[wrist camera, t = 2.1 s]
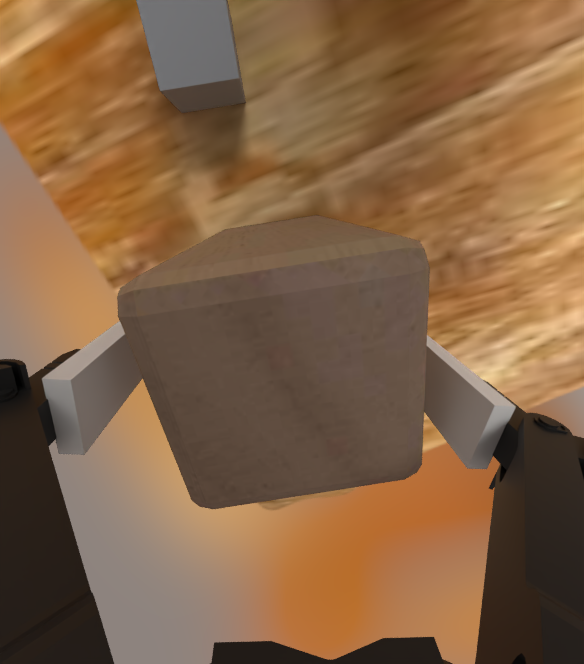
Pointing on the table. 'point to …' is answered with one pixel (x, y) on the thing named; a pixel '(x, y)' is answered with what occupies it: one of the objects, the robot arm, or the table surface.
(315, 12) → the table surface
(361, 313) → the block
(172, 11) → the slate cube
